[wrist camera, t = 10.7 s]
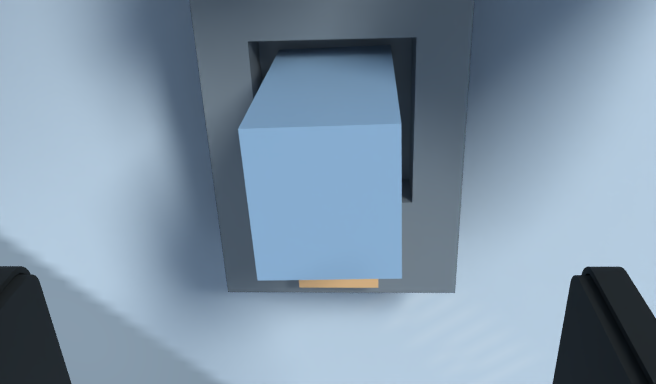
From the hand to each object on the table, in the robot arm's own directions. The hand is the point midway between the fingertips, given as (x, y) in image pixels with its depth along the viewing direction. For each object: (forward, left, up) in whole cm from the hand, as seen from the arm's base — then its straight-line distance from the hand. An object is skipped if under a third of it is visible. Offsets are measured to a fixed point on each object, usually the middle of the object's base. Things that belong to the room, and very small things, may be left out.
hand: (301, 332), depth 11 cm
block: (0, 0, -14) cm, 14 cm away
